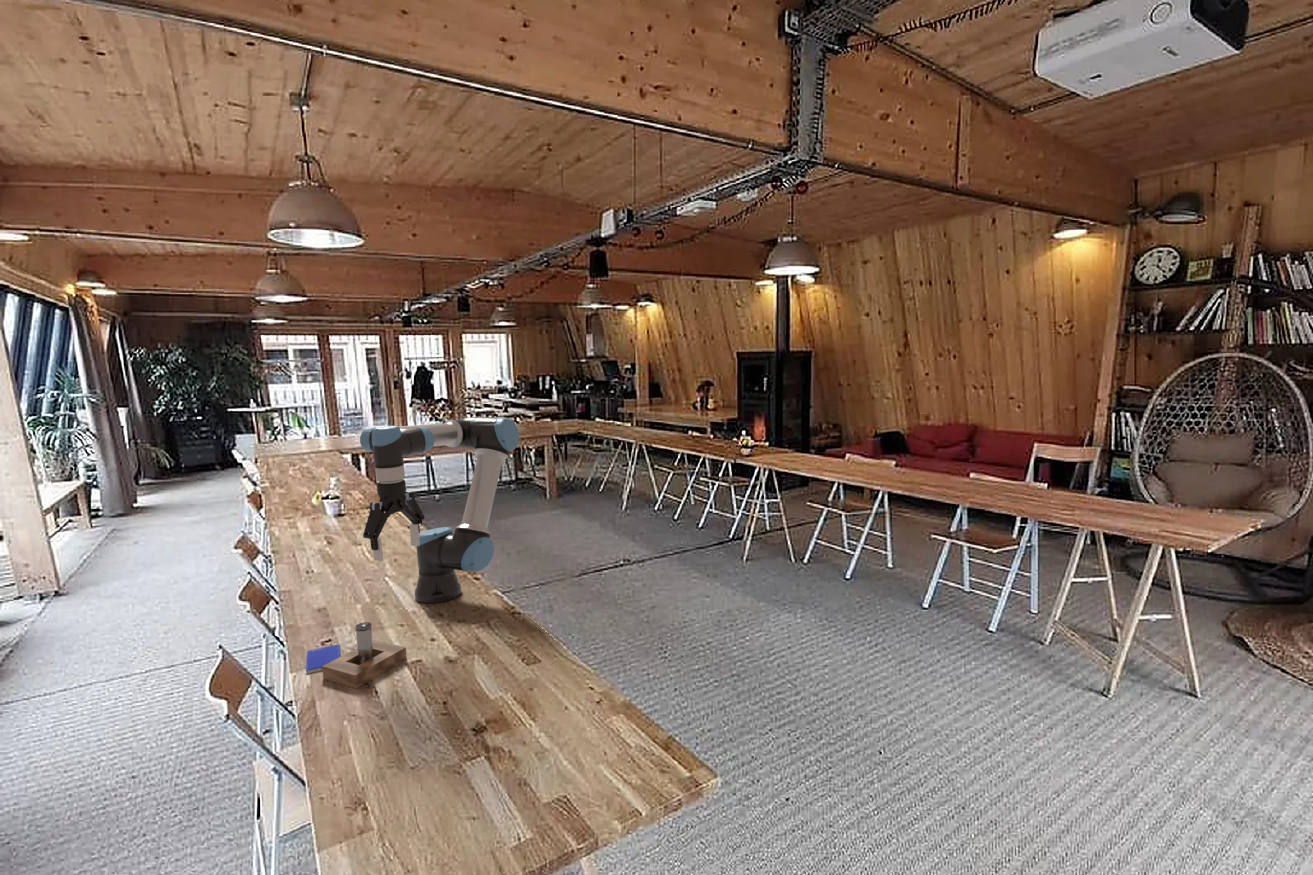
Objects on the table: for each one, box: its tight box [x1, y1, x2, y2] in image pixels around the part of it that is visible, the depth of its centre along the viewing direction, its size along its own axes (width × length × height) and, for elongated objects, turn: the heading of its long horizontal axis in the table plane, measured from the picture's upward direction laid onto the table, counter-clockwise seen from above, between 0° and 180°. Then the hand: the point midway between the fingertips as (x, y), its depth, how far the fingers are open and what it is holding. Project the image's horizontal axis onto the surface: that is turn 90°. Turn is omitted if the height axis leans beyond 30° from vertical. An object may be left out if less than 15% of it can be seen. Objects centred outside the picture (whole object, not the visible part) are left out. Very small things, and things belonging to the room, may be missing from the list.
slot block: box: [321, 639, 408, 689], centre depth 162 cm, size 16×12×4 cm
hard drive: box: [305, 644, 342, 675], centre depth 167 cm, size 2×8×12 cm
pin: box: [355, 621, 373, 665], centre depth 161 cm, size 4×4×12 cm
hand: (397, 552), depth 177 cm, fingers open, 13 cm apart
